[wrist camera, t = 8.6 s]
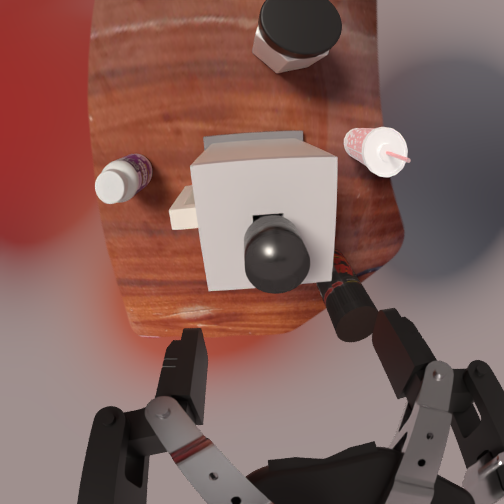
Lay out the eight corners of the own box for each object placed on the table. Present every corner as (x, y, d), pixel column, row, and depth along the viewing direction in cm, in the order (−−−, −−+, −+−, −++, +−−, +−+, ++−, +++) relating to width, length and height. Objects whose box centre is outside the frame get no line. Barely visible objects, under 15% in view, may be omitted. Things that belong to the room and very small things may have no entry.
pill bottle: (160, 177, 38) (138, 197, 30) (131, 194, 39) (104, 217, 30) (142, 145, 36) (115, 156, 27) (114, 164, 37) (82, 180, 28)
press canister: (188, 138, 36) (146, 159, 19) (300, 130, 36) (349, 144, 20) (199, 225, 42) (175, 301, 25) (302, 218, 42) (340, 288, 26)
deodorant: (303, 266, 46) (326, 329, 33) (329, 241, 44) (364, 298, 31) (326, 286, 48) (352, 348, 35) (351, 262, 46) (387, 320, 33)
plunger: (218, 161, 29) (198, 205, 15) (297, 155, 29) (348, 195, 15) (225, 233, 33) (217, 323, 19) (298, 227, 33) (337, 312, 19)
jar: (305, 81, 33) (333, 69, 22) (246, 66, 32) (250, 46, 21) (319, 28, 29) (349, 0, 18) (262, 12, 28) (271, -24, 17)
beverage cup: (378, 161, 38) (431, 185, 26) (341, 166, 38) (385, 192, 26) (374, 121, 35) (429, 130, 23) (335, 125, 36) (380, 132, 23)
